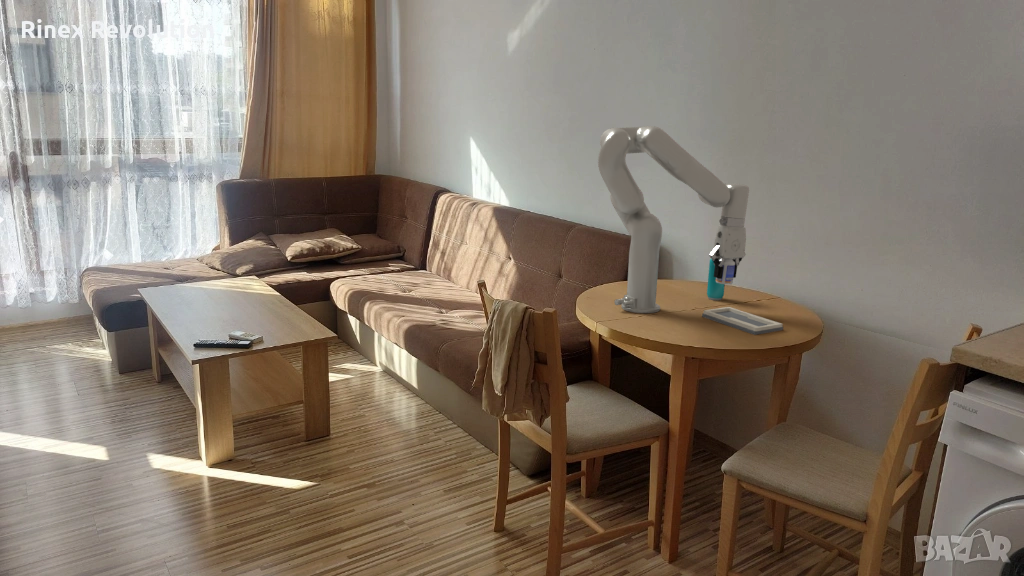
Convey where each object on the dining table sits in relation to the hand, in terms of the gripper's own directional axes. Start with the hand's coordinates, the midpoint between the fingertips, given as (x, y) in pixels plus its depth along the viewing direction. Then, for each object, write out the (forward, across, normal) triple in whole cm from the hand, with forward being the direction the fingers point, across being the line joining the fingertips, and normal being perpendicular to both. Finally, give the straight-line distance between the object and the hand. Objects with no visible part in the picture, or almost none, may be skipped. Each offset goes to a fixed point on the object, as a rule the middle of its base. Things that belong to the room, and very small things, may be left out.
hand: (724, 276), depth 244 cm
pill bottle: (+2, 0, 0) cm, 2 cm away
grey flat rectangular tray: (+11, -6, -15) cm, 19 cm away
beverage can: (+11, +10, +12) cm, 19 cm away
